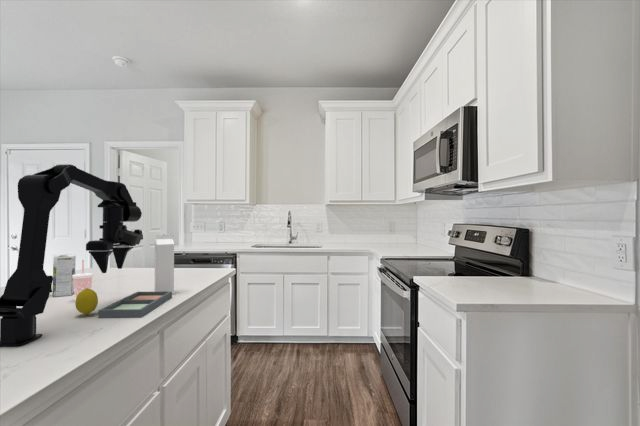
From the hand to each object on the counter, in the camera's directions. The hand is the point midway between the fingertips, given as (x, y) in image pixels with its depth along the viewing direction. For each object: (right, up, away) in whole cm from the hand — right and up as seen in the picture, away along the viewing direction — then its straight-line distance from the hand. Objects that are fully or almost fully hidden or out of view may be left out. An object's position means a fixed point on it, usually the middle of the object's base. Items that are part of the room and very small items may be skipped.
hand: (112, 270), depth 111 cm
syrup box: (-28, -12, +17) cm, 35 cm away
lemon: (-2, -12, -9) cm, 15 cm away
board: (+8, -12, +1) cm, 14 cm away
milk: (+8, -12, +19) cm, 24 cm away
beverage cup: (-15, -12, +9) cm, 21 cm away
